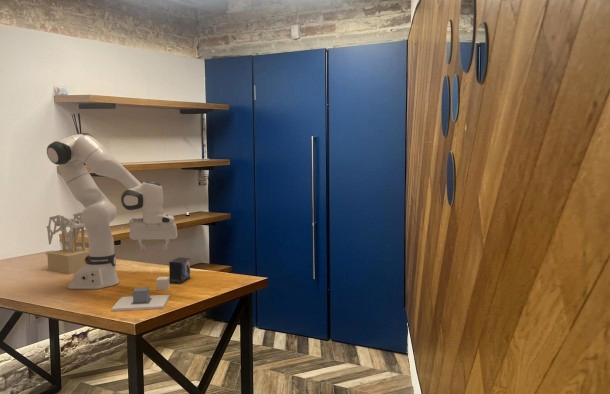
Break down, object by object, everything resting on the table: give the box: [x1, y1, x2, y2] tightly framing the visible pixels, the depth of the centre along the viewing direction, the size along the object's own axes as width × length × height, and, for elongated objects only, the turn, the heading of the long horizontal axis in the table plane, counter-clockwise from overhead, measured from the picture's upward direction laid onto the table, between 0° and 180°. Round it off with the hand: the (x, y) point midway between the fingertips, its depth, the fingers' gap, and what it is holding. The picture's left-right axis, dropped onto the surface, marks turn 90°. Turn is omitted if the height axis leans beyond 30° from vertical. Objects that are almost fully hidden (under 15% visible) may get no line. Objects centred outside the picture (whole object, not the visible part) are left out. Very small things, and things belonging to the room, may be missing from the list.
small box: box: [168, 257, 191, 284], centre depth 239 cm, size 11×6×10 cm, turn 168°
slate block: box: [132, 286, 151, 303], centre depth 203 cm, size 6×6×5 cm
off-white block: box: [155, 276, 171, 291], centre depth 225 cm, size 5×5×5 cm
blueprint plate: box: [111, 294, 171, 312], centre depth 203 cm, size 20×16×1 cm
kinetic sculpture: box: [45, 211, 89, 275], centre depth 265 cm, size 25×20×30 cm
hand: (154, 249), depth 216 cm, fingers open, 8 cm apart
